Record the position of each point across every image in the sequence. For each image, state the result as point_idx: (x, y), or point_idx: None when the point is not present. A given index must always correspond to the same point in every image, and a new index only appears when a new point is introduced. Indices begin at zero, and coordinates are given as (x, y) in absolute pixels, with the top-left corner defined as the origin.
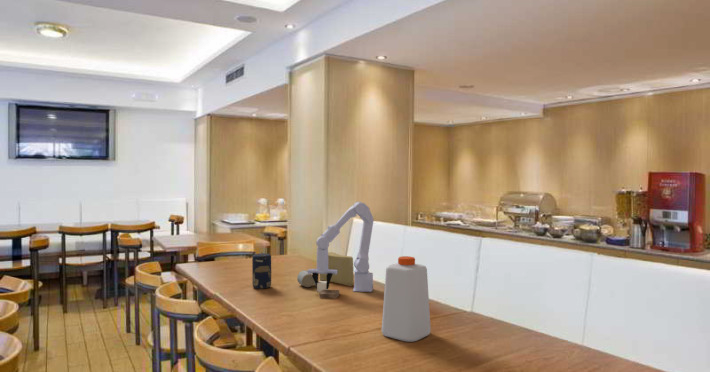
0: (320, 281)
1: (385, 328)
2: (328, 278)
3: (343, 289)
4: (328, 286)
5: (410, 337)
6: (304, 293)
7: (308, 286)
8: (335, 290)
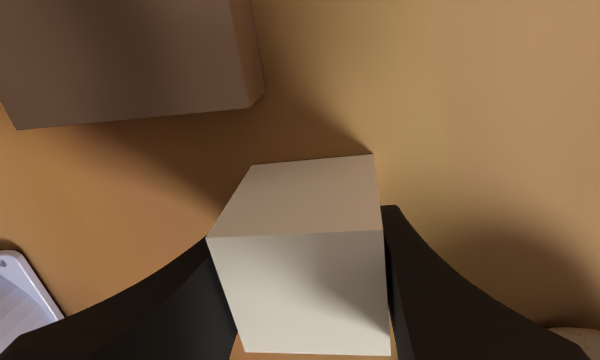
0: (353, 338)
1: None
2: (108, 315)
3: None
4: None
5: None
6: (574, 32)
7: None
8: (46, 96)
